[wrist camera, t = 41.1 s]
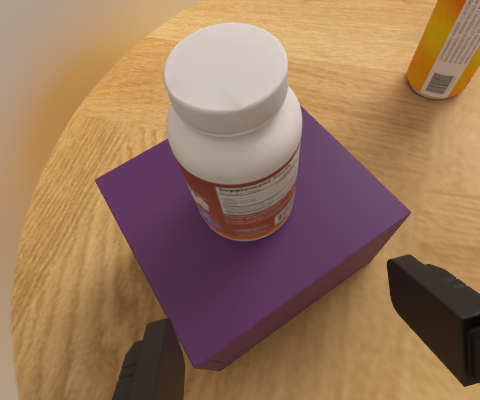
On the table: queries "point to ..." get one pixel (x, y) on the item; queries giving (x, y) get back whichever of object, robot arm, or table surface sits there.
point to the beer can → (447, 50)
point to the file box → (297, 304)
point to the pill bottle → (235, 127)
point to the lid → (244, 252)
